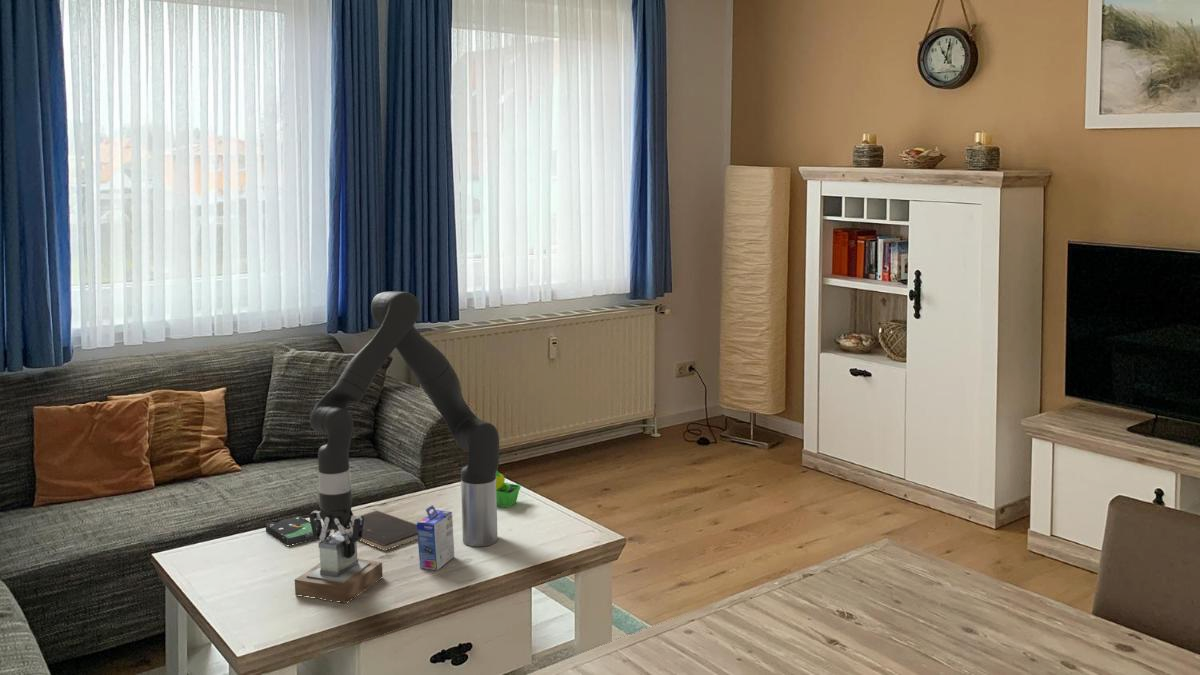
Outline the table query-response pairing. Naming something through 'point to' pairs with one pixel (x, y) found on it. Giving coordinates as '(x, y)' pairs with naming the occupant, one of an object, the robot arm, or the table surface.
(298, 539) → the disk drive
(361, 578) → the walnut stand
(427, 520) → the ink cartridge box
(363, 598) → the table surface
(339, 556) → the box
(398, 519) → the hardcover book
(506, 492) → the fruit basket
